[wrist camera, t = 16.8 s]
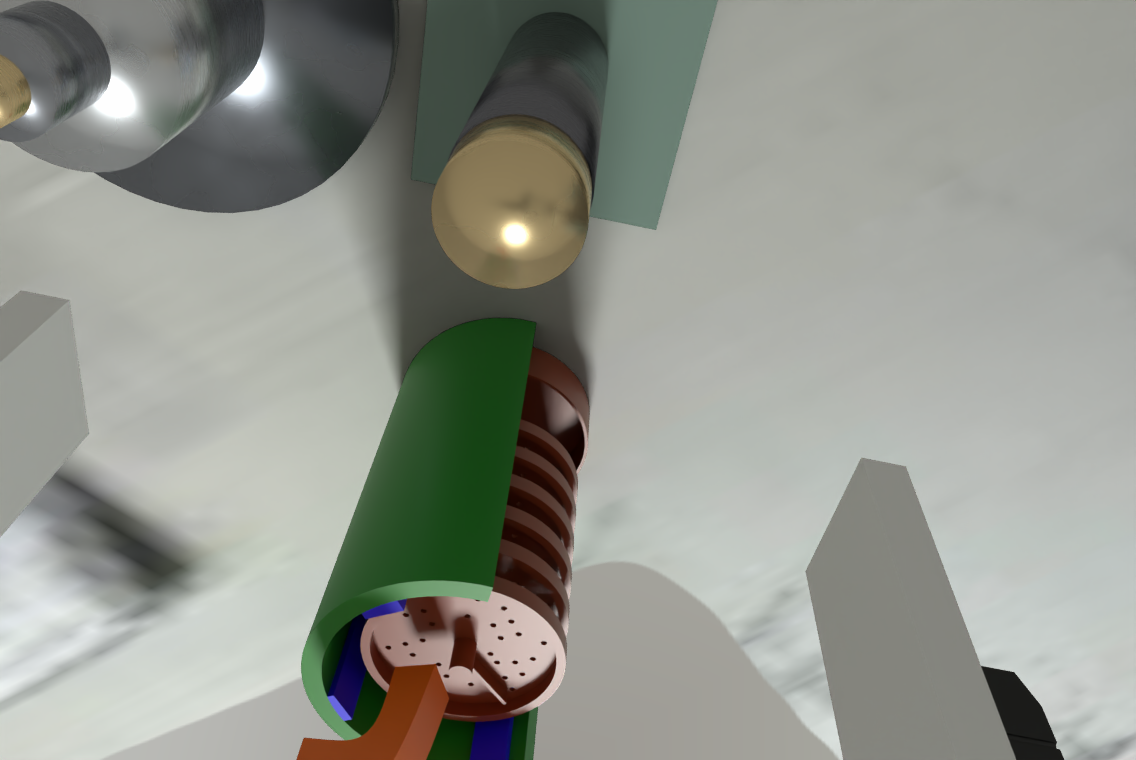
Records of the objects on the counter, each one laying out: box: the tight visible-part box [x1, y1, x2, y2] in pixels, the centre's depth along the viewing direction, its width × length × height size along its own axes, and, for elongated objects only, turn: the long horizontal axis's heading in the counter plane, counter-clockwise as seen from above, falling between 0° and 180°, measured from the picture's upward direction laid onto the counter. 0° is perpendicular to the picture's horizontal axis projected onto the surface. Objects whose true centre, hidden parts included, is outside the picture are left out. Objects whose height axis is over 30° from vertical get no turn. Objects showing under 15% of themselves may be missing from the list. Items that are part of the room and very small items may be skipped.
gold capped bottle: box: [431, 12, 609, 289], centre depth 27 cm, size 4×4×14 cm
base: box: [94, 0, 399, 213], centre depth 32 cm, size 16×16×1 cm
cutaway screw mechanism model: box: [297, 318, 589, 760], centre depth 34 cm, size 10×9×20 cm
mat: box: [411, 0, 718, 230], centre depth 33 cm, size 10×10×1 cm
